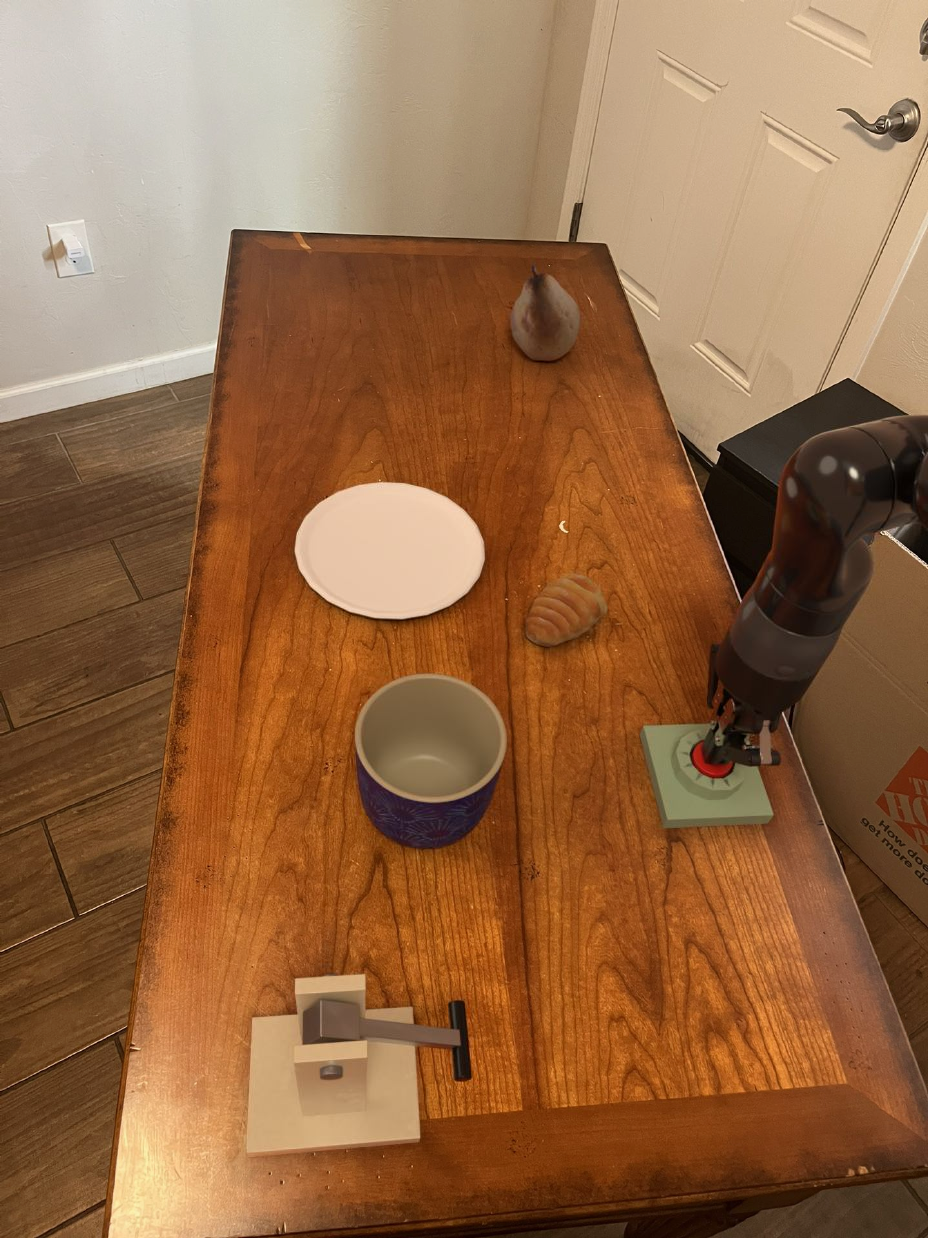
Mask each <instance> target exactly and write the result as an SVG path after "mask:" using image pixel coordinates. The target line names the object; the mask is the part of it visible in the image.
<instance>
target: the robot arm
mask: <svg viewBox="0 0 928 1238" xmlns="http://www.w3.org/2000/svg"><path fill="white" fill-rule="evenodd" d="M775 507H776V508H775V515H774V524H773V533H772V534H773V536H772V545H771V548H770V550H769V552H768V554H767V556H766V558H765V560H764V562H763V563H762V565H761V568H760V570H759V571H758V573H757V576H756V578H755V580H754V582H753V583H752V585H751V587H750V588H749V589H748V591H747V592H746V593H745V594H744V596H743V598H742V599H741V602H740V603H739V606H738V607H737V610H736V611H735V613H734V616H733V618H732V620H731V622H730V624H729V626H728V628H727V630H726V632H725V634H724V636H723V639H722V640H721V642H717V643H711V644H710V648H709V659H708V660H709V661H708V675H707V688H706V689H707V690H706V706H707V708H708V710H712V713H711V715H710V717H709V724H710V727H711V728H710V730H709V732H708V734H707V736H706V737H705V742H704V744H703V746H702V747H701V750H702V754H703V757H704V760H705V763H706V764H711V765H727V764H729V762H730V761H732V762H735V763H738V764H742V765H745V766H749V767H779V766H780V765H781V762H782V757H781V753H780V752H779V750H776V749H773V748H774V747H773V744H772V743H771V738H772V737H771V735H772V734H774V733H775V732H776V731H777V730H778V727H779V725H780V719H781V717H782V714H783V713H784V712H786V711H787V710H788V709H790V708H792V707H793V706H794V705H796V704H797V703H798V702H800V700H801V699H802V698H803V697H804V696H805V694H806V693H807V691H808V689H809V688H810V686H811V684H812V683H813V681H814V680H815V678H816V677H817V675H818V674H819V672H820V671H821V669H822V668H823V666H824V664H825V662H826V661H827V659H828V658H829V657H830V655H831V653H832V652H833V650H834V648H835V647H836V645H837V643H838V641H839V639H840V636H841V633H842V630H843V628H844V626H845V624H846V622H847V621H848V619H849V618H850V616H851V615H852V613H853V611H854V610H855V608H856V607H857V605H858V604H859V602H860V600H861V599H862V598H863V595H864V594H865V593H866V590H867V589H868V586H869V585H870V582H871V579H872V577H873V574H874V566H875V562H874V557H873V553H872V549H871V548H870V546H869V545H868V544H867V542H866V541H865V540H864V539H863V538H864V537H867V536H871V535H875V534H878V533H881V532H885V531H888V530H892V529H897V528H899V527H903V526H906V525H914V524H915V525H916V524H921V525H922V526H923V527H924V528H925V530H926V531H928V414H906V415H896V416H895V415H894V416H889V417H884V418H880V419H875V420H872V421H868V422H864V423H859V424H854V425H850V426H845V427H841V428H837V429H831V430H828V431H824V432H821V433H819V434H816V435H814V436H812V437H810V438H809V439H808V440H805V442H804V443H802V444H801V445H800V446H799V447H798V448H797V449H796V450H795V452H793V454H792V455H791V456H790V457H789V459H788V461H787V462H786V464H785V465H784V468H783V470H782V471H781V475H780V478H779V481H778V487H777V498H776V506H775ZM752 736H754V738H753V739H751V737H752ZM750 739H751V740H750ZM748 740H749V745H747V744H746V743H747V741H748Z"/></svg>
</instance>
